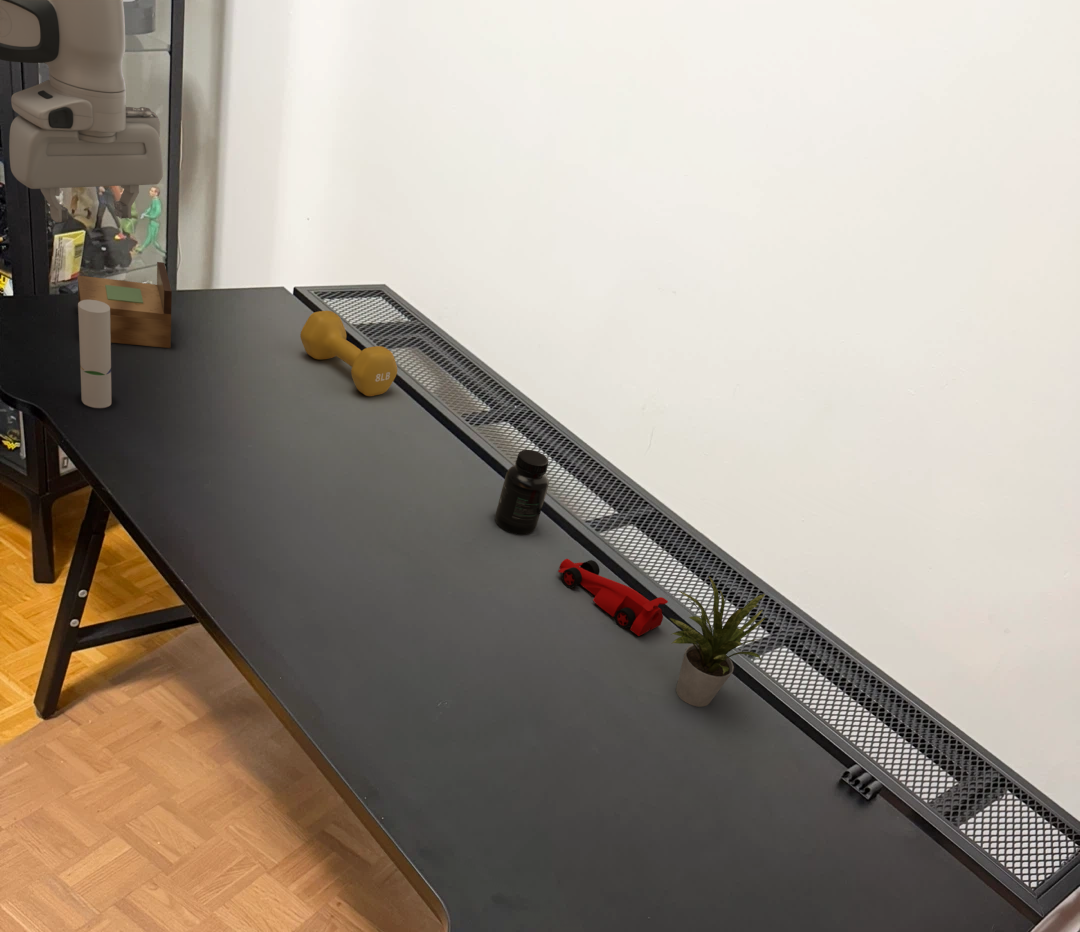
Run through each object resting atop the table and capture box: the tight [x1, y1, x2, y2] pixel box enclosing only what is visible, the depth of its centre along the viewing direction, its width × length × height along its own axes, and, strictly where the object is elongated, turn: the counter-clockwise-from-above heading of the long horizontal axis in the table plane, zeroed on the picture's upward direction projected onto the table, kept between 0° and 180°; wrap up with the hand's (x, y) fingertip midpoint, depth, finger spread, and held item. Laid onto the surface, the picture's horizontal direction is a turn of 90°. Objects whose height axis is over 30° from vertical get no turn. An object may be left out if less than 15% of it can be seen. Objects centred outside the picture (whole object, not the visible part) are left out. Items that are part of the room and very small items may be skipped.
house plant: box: [669, 576, 767, 708], centre depth 137 cm, size 14×14×16 cm
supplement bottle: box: [494, 449, 550, 536], centre depth 159 cm, size 7×7×12 cm
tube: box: [77, 300, 113, 409], centre depth 153 cm, size 4×4×15 cm
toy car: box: [557, 558, 669, 637], centre depth 152 cm, size 6×18×5 cm, turn 47°
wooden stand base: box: [77, 261, 173, 349], centre depth 174 cm, size 14×12×10 cm
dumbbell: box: [299, 310, 398, 397], centre depth 184 cm, size 19×9×8 cm, turn 47°
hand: (91, 218), depth 139 cm, fingers open, 8 cm apart
